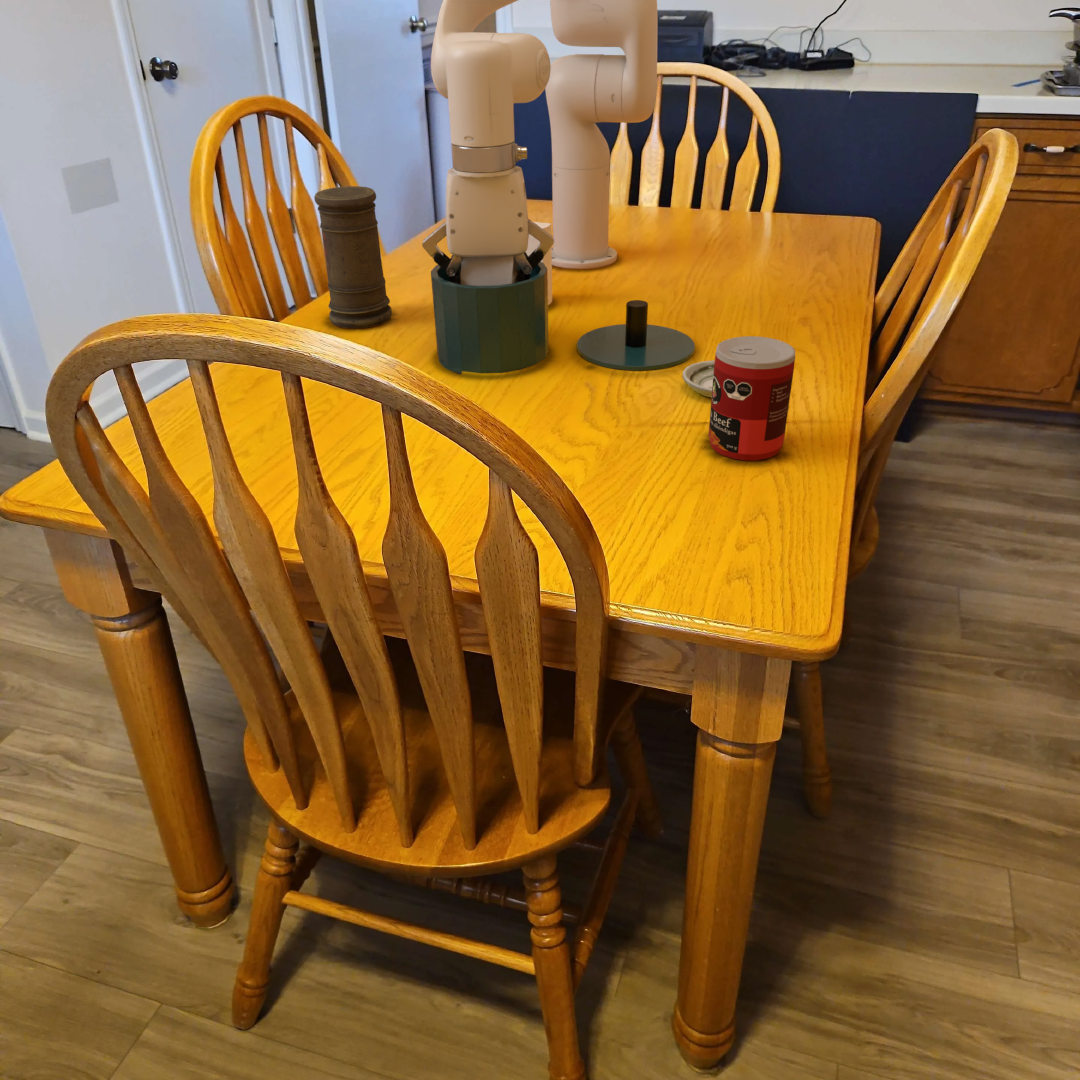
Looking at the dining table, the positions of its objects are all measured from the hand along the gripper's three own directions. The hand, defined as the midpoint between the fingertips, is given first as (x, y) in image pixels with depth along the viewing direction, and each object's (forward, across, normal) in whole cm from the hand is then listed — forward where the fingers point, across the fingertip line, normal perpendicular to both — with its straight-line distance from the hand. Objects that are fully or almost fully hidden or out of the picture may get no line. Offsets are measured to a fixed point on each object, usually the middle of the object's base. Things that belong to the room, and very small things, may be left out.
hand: (491, 301), depth 120 cm
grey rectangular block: (+3, 0, 0) cm, 3 cm away
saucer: (+7, -28, +14) cm, 32 cm away
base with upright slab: (+8, -4, -21) cm, 22 cm away
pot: (+7, 0, 0) cm, 7 cm away
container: (+7, +20, -16) cm, 27 cm away
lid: (+7, -19, 0) cm, 20 cm away
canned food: (+7, -28, +28) cm, 40 cm away
